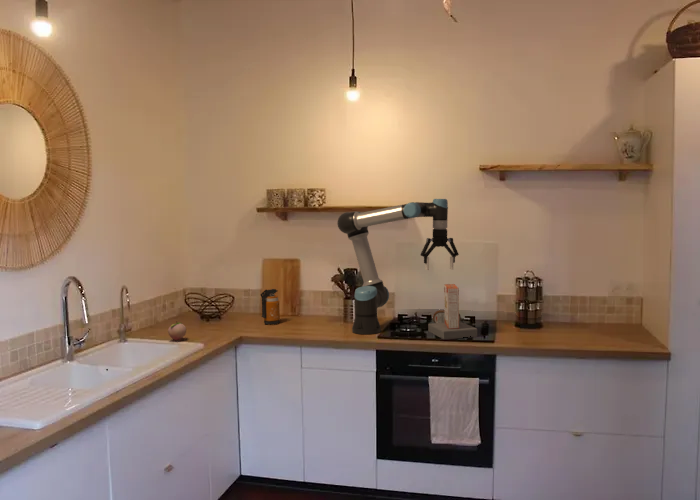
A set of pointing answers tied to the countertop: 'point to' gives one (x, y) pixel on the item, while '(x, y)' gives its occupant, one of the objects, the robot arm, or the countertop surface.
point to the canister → (270, 307)
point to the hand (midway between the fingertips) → (439, 269)
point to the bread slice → (440, 316)
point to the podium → (452, 331)
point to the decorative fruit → (177, 331)
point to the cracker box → (451, 306)
